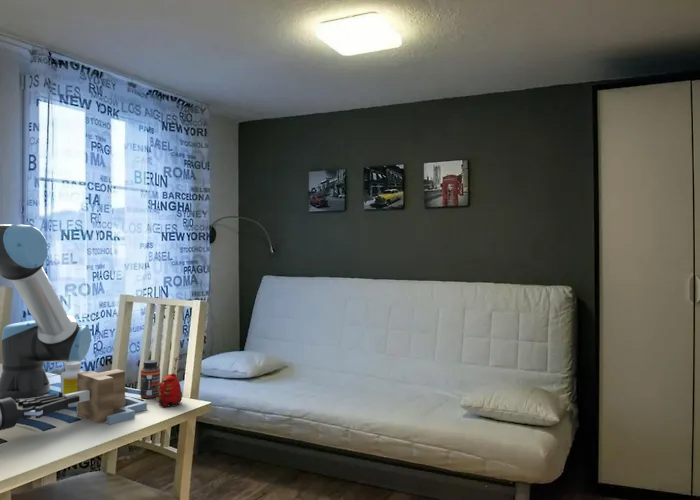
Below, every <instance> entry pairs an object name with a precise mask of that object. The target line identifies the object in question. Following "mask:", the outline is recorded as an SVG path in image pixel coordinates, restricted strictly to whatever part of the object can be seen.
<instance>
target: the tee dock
mask: <svg viewBox="0 0 700 500" xmlns="http://www.w3.org/2000/svg"><path fill="white" fill-rule="evenodd" d="M147 404H148V403H147V402H146V401H143V400H140V399H137V398H133V397H131V396H129V395H128V396H125V407H121V408H119V413H117V414H113V415H109V416H107V422H106V424H108V425H113V424H116V423H120V422H124V421H127V420H131V419H134V418H135V413H138V412H141V411H145V410H147ZM76 412H77V413H78V404H77V407H76Z"/></svg>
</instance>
